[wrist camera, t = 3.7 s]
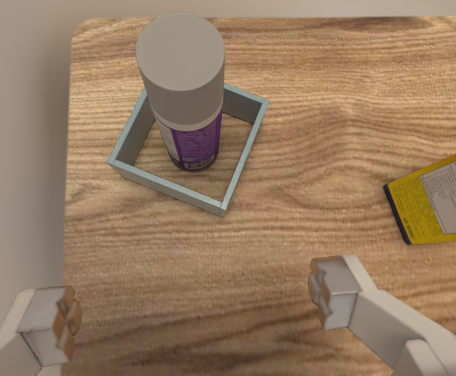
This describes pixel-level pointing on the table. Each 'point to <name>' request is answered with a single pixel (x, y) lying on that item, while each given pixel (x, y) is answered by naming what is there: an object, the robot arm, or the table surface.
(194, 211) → the table surface
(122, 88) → the table surface
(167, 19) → the container
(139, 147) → the open box
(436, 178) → the supplement box
